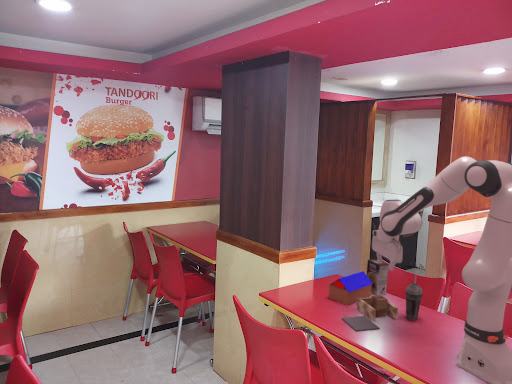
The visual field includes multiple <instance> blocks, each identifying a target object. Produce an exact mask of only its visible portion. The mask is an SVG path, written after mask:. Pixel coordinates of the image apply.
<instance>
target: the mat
mask: <svg viewBox="0 0 512 384" xmlns="http://www.w3.org/2000/svg"><path fill="white" fill-rule="evenodd" d="M341 320H342V321H344V322H345V323H346V324H347V325H348V327H350V328H351V329H352V330H353V331H355V332H365V331H376V330H380V329H381V327H380V326H378V325H377V324H376V323H375V322H374V321H372V320H371V319H370V318H368V317H367V316H366V315H360V316H359V315H358V316H348V317H345V316H344V317H342V318H341Z"/></svg>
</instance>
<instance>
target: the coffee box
mask: <svg viewBox="0 0 512 384" xmlns="http://www.w3.org/2000/svg"><path fill="white" fill-rule="evenodd" d="M377 260H378V259H376V258H375V259H374V258H372V259H367V263H366V264H367V265H366V266H367V267H366V275H367V277H368V278H369V279H370V281H371V282H372V283H373V284H372V289H371V294H373V295H374V296H379V295H382V296H384V295H386V294H387V284H388V276H389V275H388V274H389V273H388V272H389V269H388V266H390V263H387V262H385V261H382V263H378V262H377Z"/></svg>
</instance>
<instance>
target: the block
mask: <svg viewBox="0 0 512 384" xmlns="http://www.w3.org/2000/svg"><path fill="white" fill-rule="evenodd" d="M387 302H389V300H388V298H386V297H385V296H384V295H371V307H373V308H374V309H376V316H375V319H376V318H386V317H387V315H388V314H387Z"/></svg>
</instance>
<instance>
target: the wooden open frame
mask: <svg viewBox="0 0 512 384" xmlns="http://www.w3.org/2000/svg"><path fill="white" fill-rule="evenodd" d="M371 297H372V296H371ZM371 297H368V298H358V302H356V303H357V304H356V306H357V307H356V309H357V310H358V311H359V312H360V313H362V314H363V315H364V316H365V317H367V318H368V319H369V320H371V321H372V322H375V321H376V317H375V316H376V309H374V308H373V307H371ZM398 314H399V308H398V306H396V305H394V304H393V303H391V302H389V301H388V302H387V314H386V315H389V316H390V317H391V318H393V319H394V320H398Z"/></svg>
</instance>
